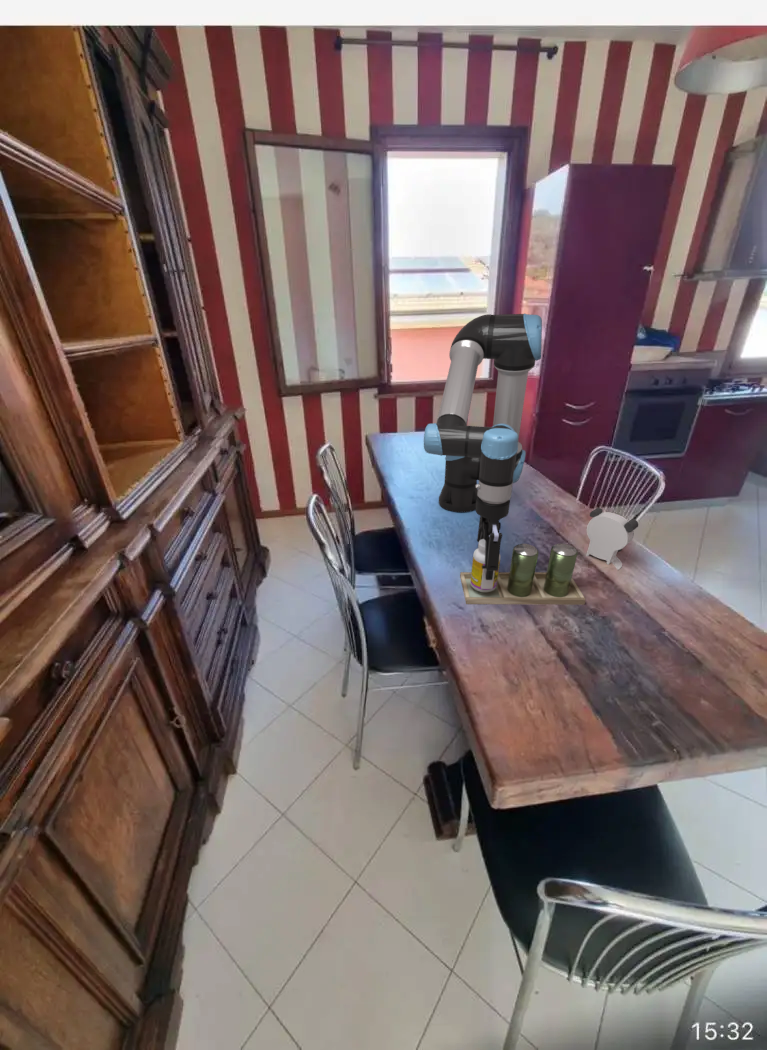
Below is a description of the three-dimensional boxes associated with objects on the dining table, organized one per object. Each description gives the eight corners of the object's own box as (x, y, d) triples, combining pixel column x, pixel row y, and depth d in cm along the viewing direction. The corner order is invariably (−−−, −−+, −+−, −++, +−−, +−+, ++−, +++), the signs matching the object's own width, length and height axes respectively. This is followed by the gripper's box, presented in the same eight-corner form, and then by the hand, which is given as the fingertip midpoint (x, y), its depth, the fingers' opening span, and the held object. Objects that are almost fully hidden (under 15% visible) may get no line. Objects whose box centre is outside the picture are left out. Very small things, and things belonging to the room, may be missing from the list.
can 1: (504, 583, 111) (510, 543, 105) (527, 583, 111) (534, 543, 105) (510, 597, 106) (516, 555, 100) (534, 597, 106) (542, 555, 100)
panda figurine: (630, 562, 120) (645, 516, 113) (613, 578, 114) (628, 530, 107) (589, 546, 128) (600, 502, 121) (571, 560, 122) (582, 514, 115)
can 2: (540, 583, 111) (548, 543, 105) (563, 583, 111) (572, 542, 105) (547, 597, 106) (556, 555, 100) (571, 597, 105) (581, 555, 99)
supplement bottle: (477, 595, 105) (482, 552, 98) (465, 580, 110) (469, 538, 104) (501, 590, 106) (507, 547, 100) (488, 576, 112) (493, 534, 106)
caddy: (459, 579, 115) (460, 572, 113) (566, 579, 114) (568, 572, 112) (465, 607, 104) (466, 599, 103) (583, 607, 103) (585, 599, 102)
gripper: (470, 481, 105) (463, 558, 116) (484, 517, 88) (475, 603, 99) (500, 481, 105) (491, 558, 116) (521, 517, 87) (507, 603, 98)
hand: (483, 578), depth 107 cm, fingers open, 7 cm apart
